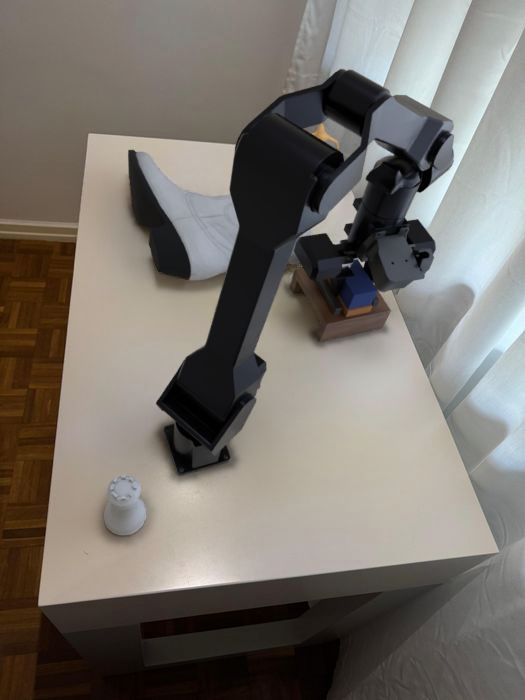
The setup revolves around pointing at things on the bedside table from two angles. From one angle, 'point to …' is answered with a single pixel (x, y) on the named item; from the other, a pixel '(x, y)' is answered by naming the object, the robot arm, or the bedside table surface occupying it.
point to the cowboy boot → (183, 223)
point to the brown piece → (337, 309)
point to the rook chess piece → (124, 506)
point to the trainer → (356, 292)
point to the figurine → (324, 135)
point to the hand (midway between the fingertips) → (348, 291)
